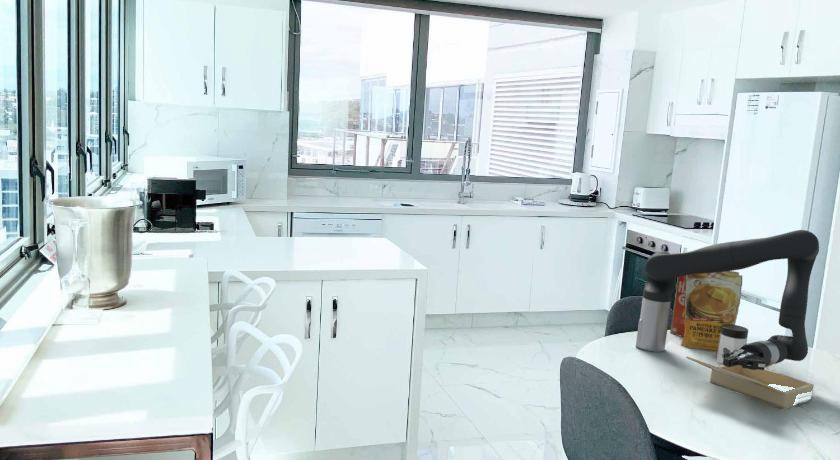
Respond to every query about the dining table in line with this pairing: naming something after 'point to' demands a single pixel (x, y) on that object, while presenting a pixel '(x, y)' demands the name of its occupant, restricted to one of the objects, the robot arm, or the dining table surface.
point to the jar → (731, 339)
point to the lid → (735, 375)
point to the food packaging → (679, 307)
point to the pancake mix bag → (710, 307)
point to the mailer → (758, 391)
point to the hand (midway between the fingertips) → (726, 362)
